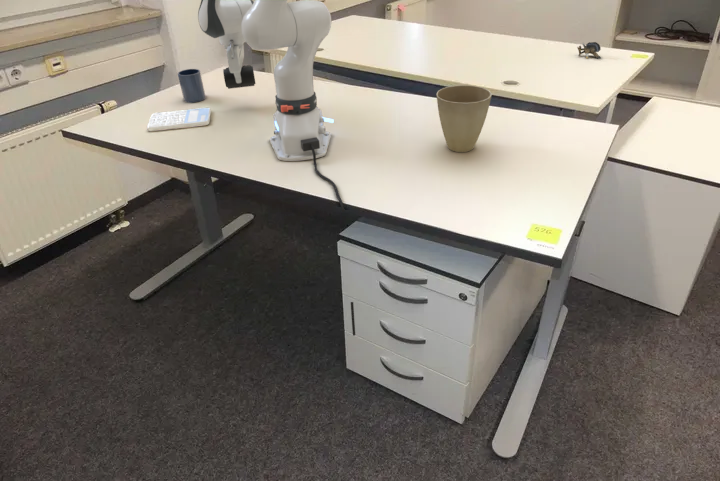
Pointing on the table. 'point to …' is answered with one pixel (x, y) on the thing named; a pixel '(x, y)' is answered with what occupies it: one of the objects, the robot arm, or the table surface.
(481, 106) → the plant pot
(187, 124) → the calculator
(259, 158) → the table surface
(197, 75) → the pen cup
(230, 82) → the end cap
